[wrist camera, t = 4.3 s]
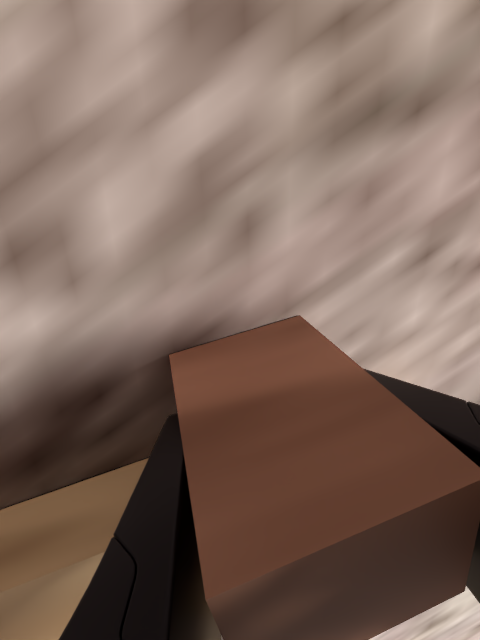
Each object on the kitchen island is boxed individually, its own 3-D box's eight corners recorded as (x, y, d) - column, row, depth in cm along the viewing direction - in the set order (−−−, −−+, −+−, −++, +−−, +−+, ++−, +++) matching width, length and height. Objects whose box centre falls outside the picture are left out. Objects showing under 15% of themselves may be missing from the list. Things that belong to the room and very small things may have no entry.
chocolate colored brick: (322, 505, 14) (437, 714, 8) (231, 543, 13) (294, 796, 8) (299, 315, 10) (490, 476, 4) (168, 354, 9) (206, 600, 4)
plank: (368, 476, 14) (412, 533, 11) (-181, 699, 10) (-269, 840, 8) (366, 381, 12) (419, 428, 9) (-327, 624, 8) (-502, 788, 6)
